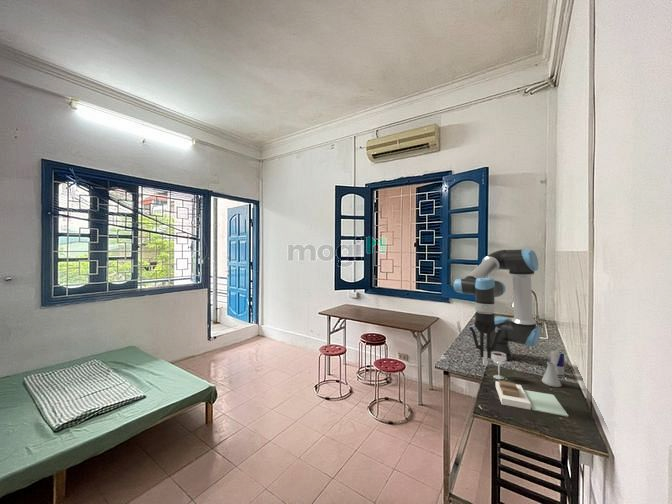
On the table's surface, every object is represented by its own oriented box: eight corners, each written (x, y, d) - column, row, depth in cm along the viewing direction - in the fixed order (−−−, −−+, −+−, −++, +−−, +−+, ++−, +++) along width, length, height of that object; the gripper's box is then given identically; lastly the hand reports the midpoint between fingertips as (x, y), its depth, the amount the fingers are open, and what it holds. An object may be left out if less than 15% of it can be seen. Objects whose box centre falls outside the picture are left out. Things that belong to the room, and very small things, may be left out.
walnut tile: (499, 384, 122) (499, 380, 122) (514, 387, 119) (514, 383, 119) (502, 394, 113) (502, 390, 113) (519, 397, 111) (519, 392, 111)
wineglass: (488, 375, 137) (487, 351, 137) (498, 373, 138) (498, 350, 138) (499, 381, 130) (498, 356, 130) (510, 379, 132) (510, 355, 132)
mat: (522, 390, 121) (522, 389, 121) (553, 395, 117) (553, 394, 117) (532, 410, 106) (532, 408, 106) (568, 416, 102) (568, 415, 102)
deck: (495, 386, 125) (495, 381, 125) (520, 390, 121) (520, 385, 121) (501, 404, 111) (501, 398, 111) (530, 409, 107) (530, 403, 107)
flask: (538, 380, 131) (537, 359, 131) (553, 380, 131) (552, 359, 131) (549, 387, 124) (549, 366, 124) (565, 387, 124) (565, 366, 124)
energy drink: (567, 377, 133) (566, 354, 133) (555, 377, 134) (554, 353, 134) (560, 373, 138) (559, 350, 138) (548, 372, 139) (548, 349, 139)
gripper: (469, 312, 119) (469, 365, 119) (503, 315, 114) (503, 370, 114) (468, 309, 126) (468, 359, 126) (500, 311, 121) (500, 363, 121)
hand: (485, 364), depth 120 cm, fingers closed
